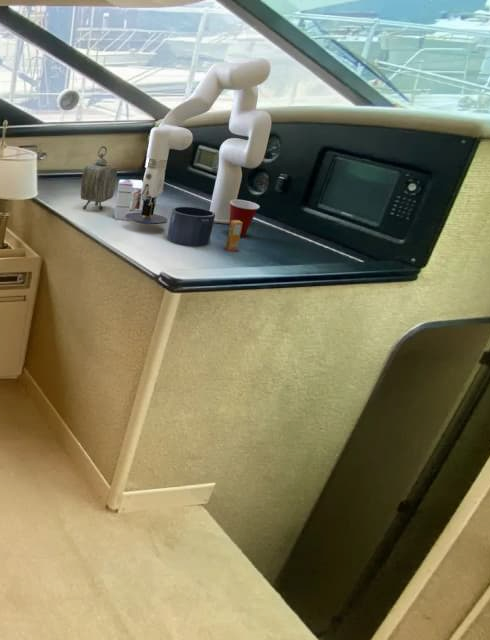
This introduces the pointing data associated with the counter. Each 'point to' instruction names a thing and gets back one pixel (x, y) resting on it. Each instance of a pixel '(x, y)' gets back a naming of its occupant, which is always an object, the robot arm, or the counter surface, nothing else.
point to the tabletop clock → (98, 181)
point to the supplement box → (234, 235)
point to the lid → (147, 218)
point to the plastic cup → (243, 213)
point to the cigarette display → (136, 196)
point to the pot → (190, 226)
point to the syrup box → (123, 199)
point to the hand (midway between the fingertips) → (147, 214)
